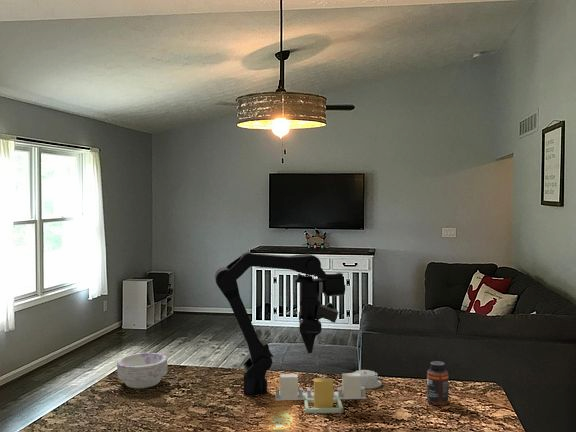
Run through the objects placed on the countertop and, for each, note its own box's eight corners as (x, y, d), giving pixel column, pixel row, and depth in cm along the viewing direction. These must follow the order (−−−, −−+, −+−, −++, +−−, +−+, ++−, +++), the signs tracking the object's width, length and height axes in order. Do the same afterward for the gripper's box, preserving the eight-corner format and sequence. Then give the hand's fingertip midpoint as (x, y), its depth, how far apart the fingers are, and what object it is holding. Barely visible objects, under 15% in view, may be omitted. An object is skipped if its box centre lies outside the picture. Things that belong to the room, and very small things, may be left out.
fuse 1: (280, 398, 168) (280, 377, 167) (280, 394, 171) (280, 374, 170) (298, 397, 168) (298, 377, 168) (297, 394, 171) (297, 373, 171)
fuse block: (275, 403, 166) (275, 393, 166) (275, 396, 172) (274, 386, 172) (366, 402, 167) (366, 391, 167) (363, 394, 173) (363, 384, 173)
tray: (306, 416, 157) (306, 409, 156) (304, 405, 165) (304, 398, 164) (343, 416, 157) (343, 408, 157) (339, 405, 165) (339, 398, 165)
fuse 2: (343, 397, 168) (343, 376, 168) (342, 393, 171) (342, 373, 171) (360, 396, 169) (360, 376, 168) (359, 393, 172) (359, 373, 171)
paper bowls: (107, 389, 179) (106, 363, 178) (134, 374, 193) (134, 350, 193) (151, 394, 174) (151, 367, 174) (176, 378, 189) (176, 354, 188)
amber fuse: (314, 411, 159) (314, 381, 159) (313, 407, 162) (313, 378, 162) (333, 410, 159) (333, 381, 159) (331, 406, 162) (332, 378, 162)
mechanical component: (382, 393, 175) (380, 382, 185) (382, 378, 175) (380, 368, 185) (349, 391, 176) (348, 381, 186) (349, 377, 176) (348, 367, 186)
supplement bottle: (450, 400, 168) (450, 361, 168) (446, 407, 163) (446, 367, 163) (429, 397, 171) (429, 359, 170) (424, 404, 166) (425, 364, 165)
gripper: (339, 302, 165) (339, 357, 166) (334, 291, 184) (334, 341, 185) (299, 302, 165) (299, 357, 166) (298, 291, 184) (298, 340, 185)
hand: (309, 348), depth 175 cm, fingers open, 9 cm apart
